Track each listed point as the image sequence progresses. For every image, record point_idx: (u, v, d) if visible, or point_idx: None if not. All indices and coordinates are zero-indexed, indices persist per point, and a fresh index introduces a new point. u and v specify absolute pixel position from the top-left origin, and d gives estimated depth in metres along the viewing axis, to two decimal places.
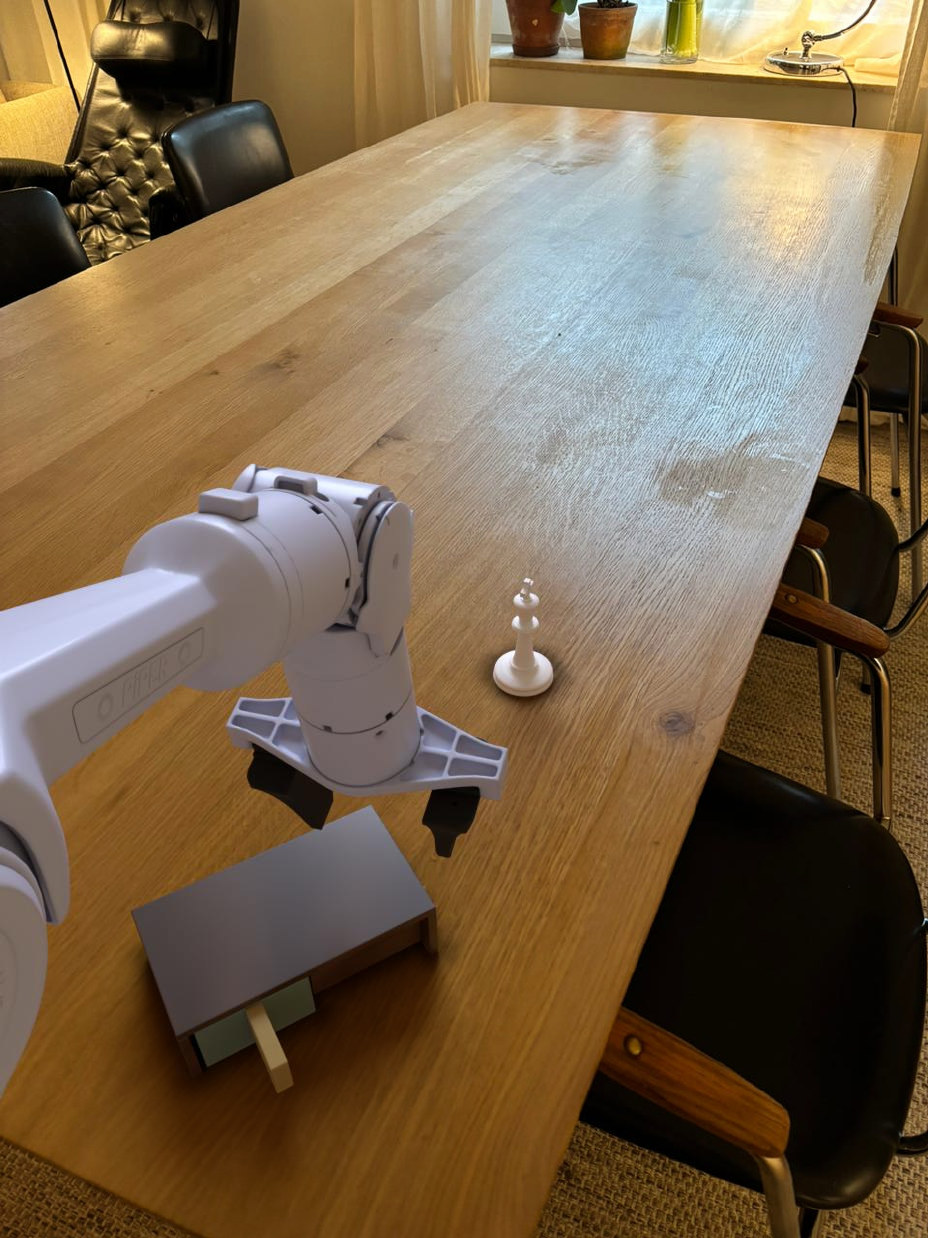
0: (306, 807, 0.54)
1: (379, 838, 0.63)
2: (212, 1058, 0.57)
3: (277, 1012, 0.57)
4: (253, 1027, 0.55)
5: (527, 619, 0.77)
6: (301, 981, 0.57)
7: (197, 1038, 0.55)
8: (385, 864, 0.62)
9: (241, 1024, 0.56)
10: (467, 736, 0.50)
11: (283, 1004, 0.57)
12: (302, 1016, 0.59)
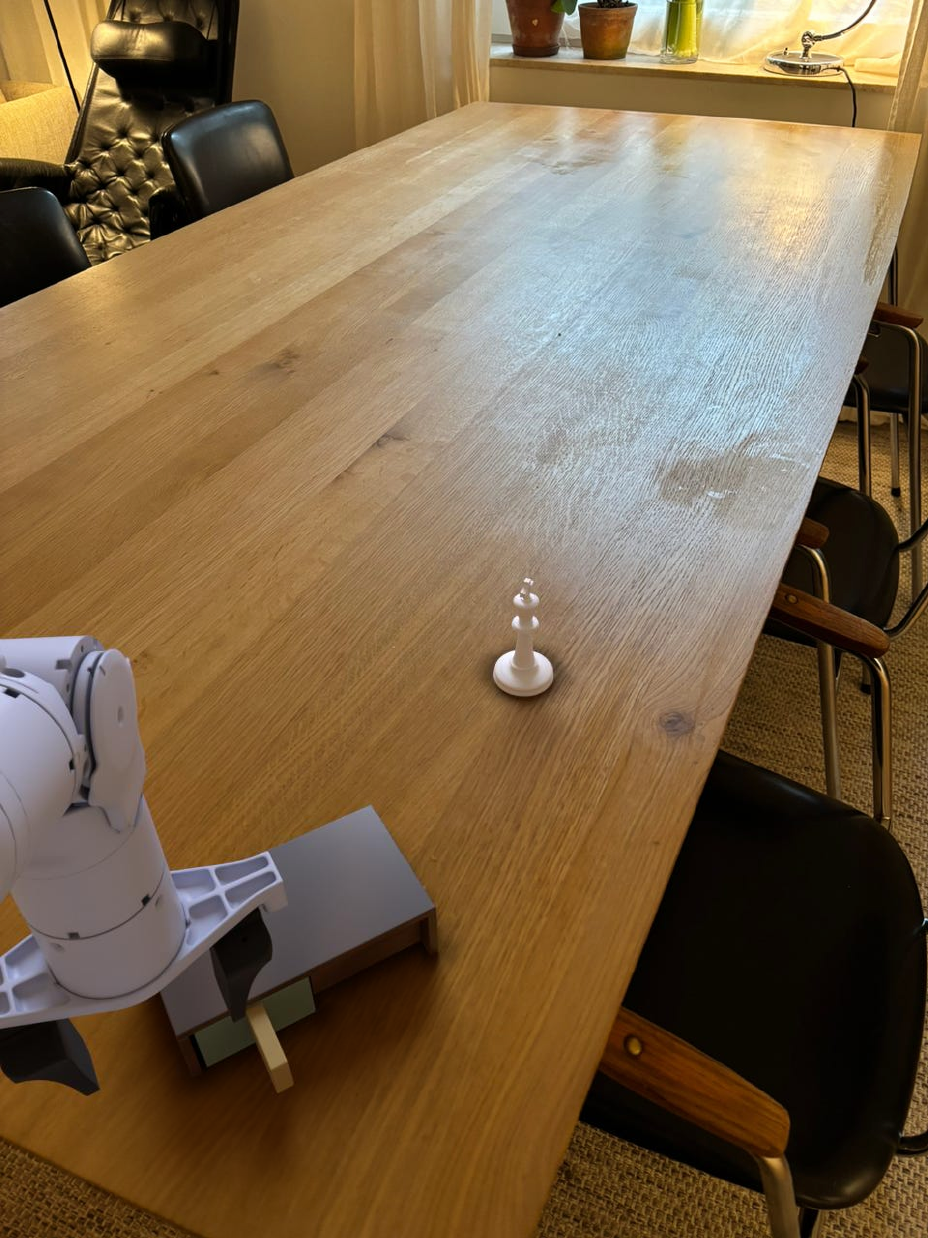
0: (80, 1068, 0.45)
1: (379, 838, 0.63)
2: (212, 1058, 0.57)
3: (277, 1012, 0.57)
4: (253, 1027, 0.55)
5: (527, 619, 0.77)
6: (301, 981, 0.57)
7: (197, 1038, 0.55)
8: (385, 864, 0.62)
9: (241, 1024, 0.56)
10: (221, 866, 0.46)
11: (283, 1004, 0.57)
12: (302, 1016, 0.59)
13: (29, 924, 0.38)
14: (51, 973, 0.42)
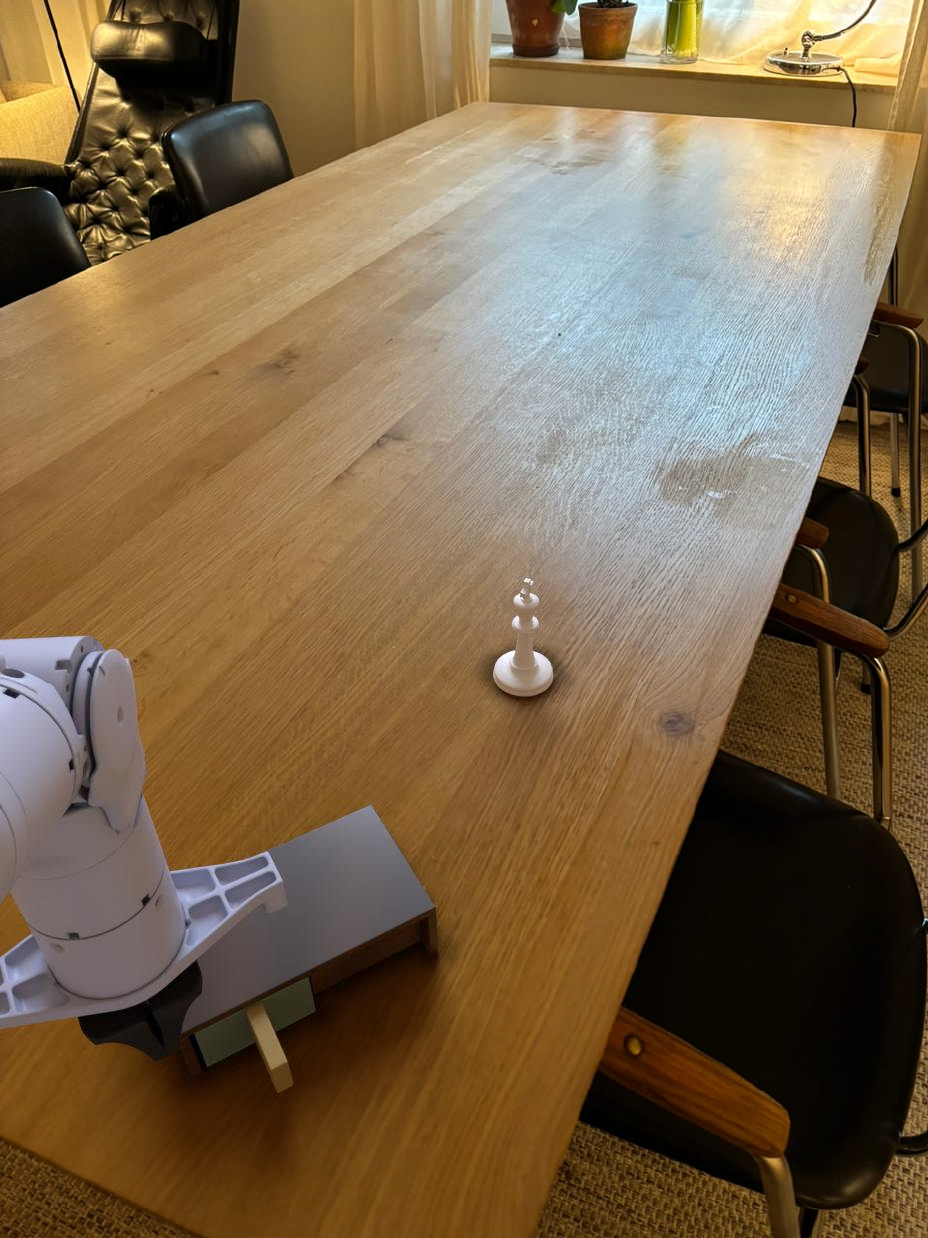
0: (152, 1033, 0.46)
1: (379, 838, 0.63)
2: (212, 1058, 0.57)
3: (277, 1012, 0.57)
4: (253, 1027, 0.55)
5: (527, 619, 0.77)
6: (301, 981, 0.57)
7: (197, 1038, 0.55)
8: (385, 864, 0.62)
9: (241, 1024, 0.56)
10: (221, 866, 0.46)
11: (283, 1004, 0.57)
12: (302, 1016, 0.59)
13: (29, 924, 0.38)
14: (51, 973, 0.42)
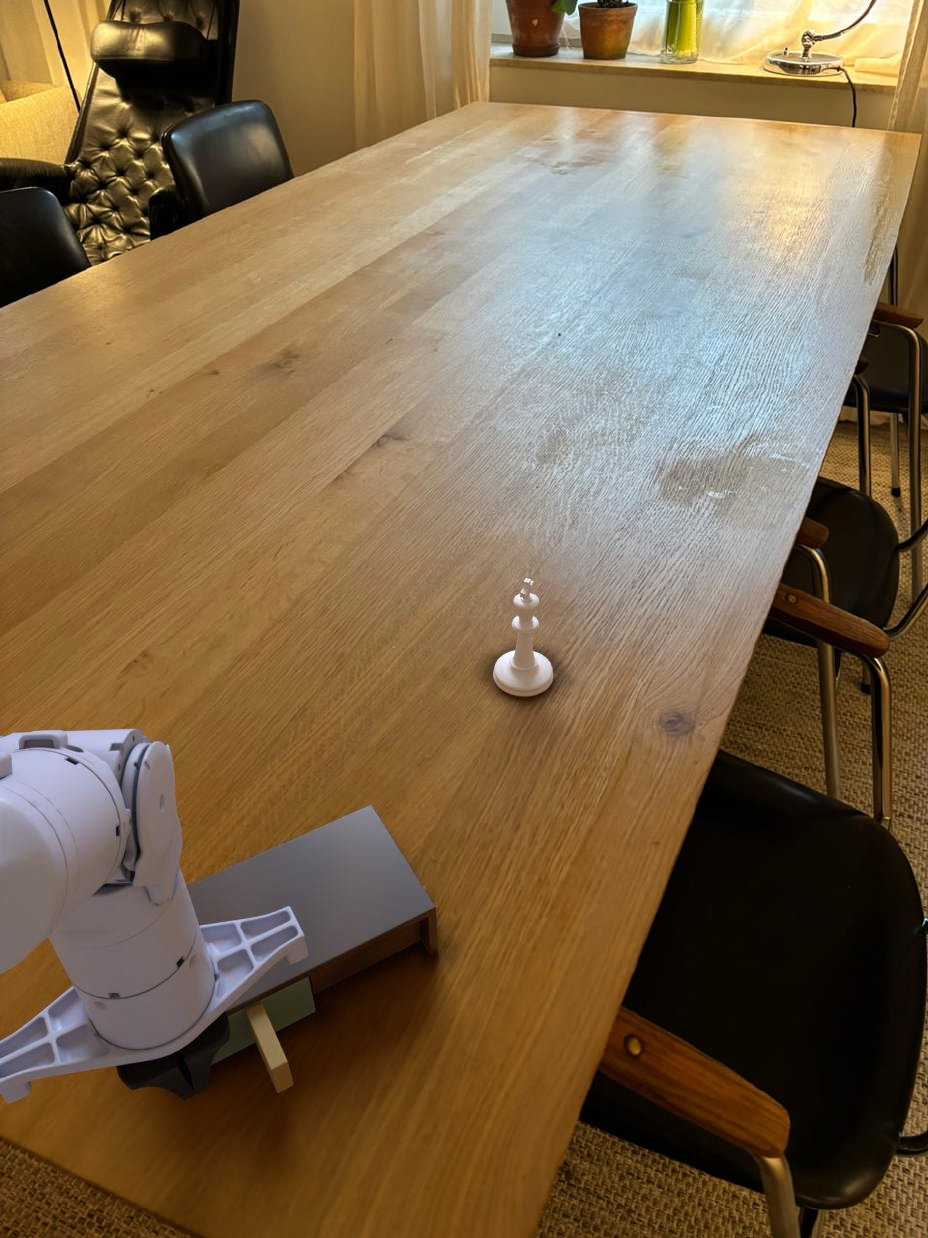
0: (182, 1075, 0.49)
1: (379, 838, 0.63)
2: None
3: (277, 1012, 0.57)
4: (253, 1027, 0.55)
5: (527, 619, 0.77)
6: (301, 981, 0.57)
7: None
8: (385, 864, 0.62)
9: (241, 1024, 0.56)
10: (246, 921, 0.49)
11: (283, 1004, 0.57)
12: (302, 1016, 0.59)
13: (74, 984, 0.42)
14: (91, 1025, 0.45)
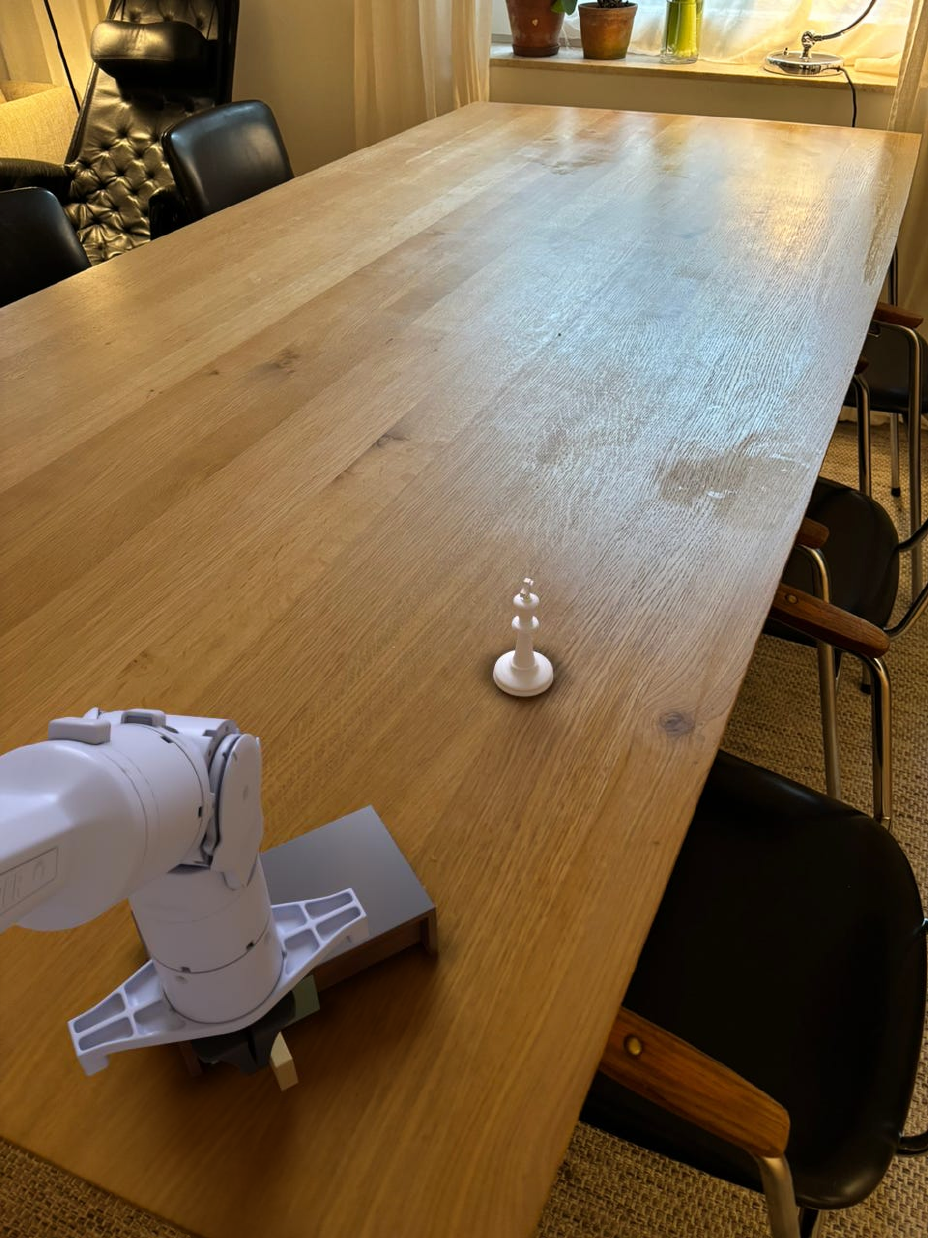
0: None
1: (379, 838, 0.63)
2: None
3: None
4: None
5: (527, 619, 0.77)
6: (305, 979, 0.57)
7: None
8: (385, 864, 0.62)
9: None
10: (310, 902, 0.51)
11: None
12: (306, 1014, 0.59)
13: (156, 959, 0.44)
14: (167, 1000, 0.47)
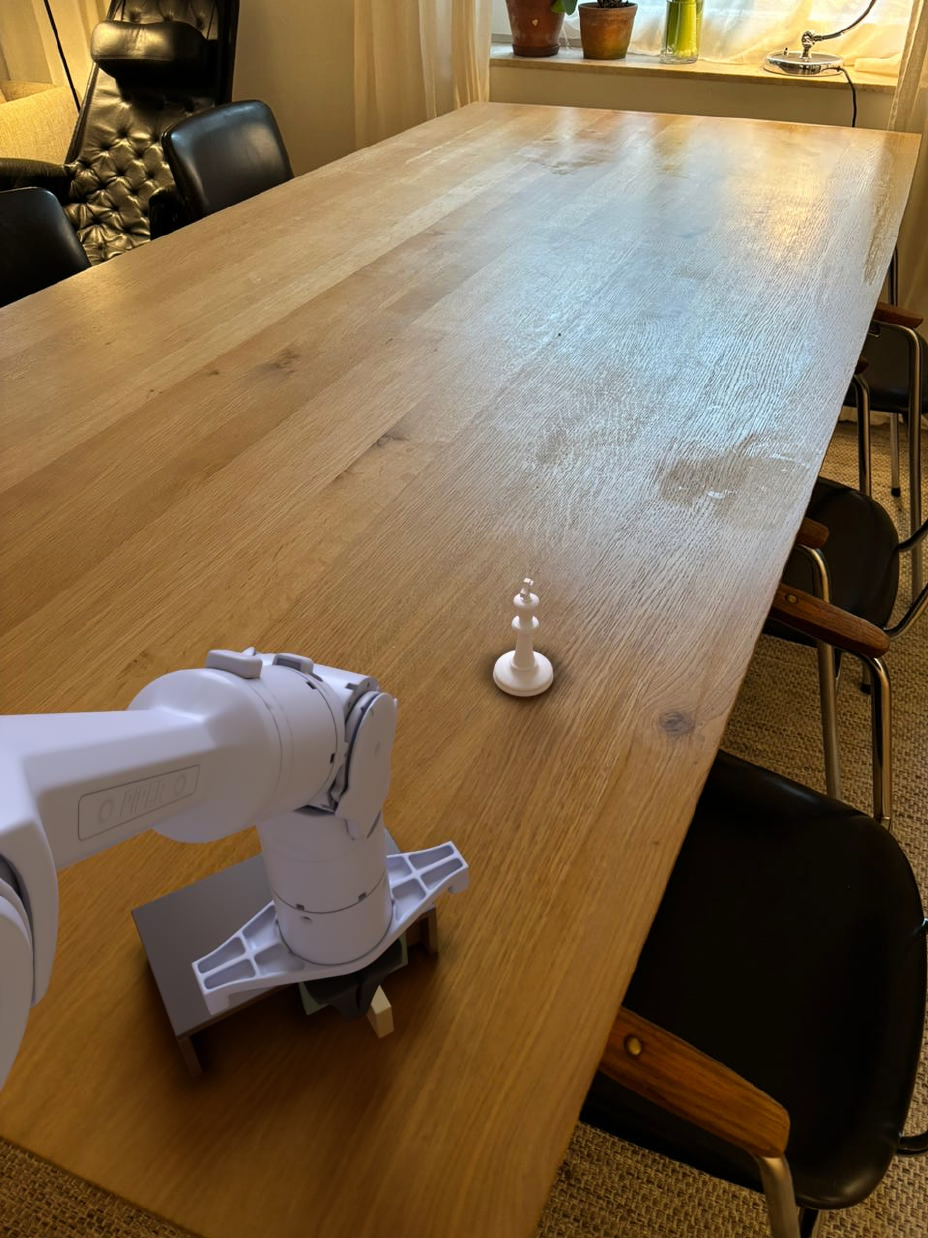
0: None
1: None
2: (313, 1007, 0.59)
3: None
4: None
5: (527, 619, 0.77)
6: None
7: (302, 985, 0.57)
8: None
9: None
10: (413, 854, 0.53)
11: None
12: (395, 968, 0.61)
13: (282, 900, 0.46)
14: (284, 944, 0.49)
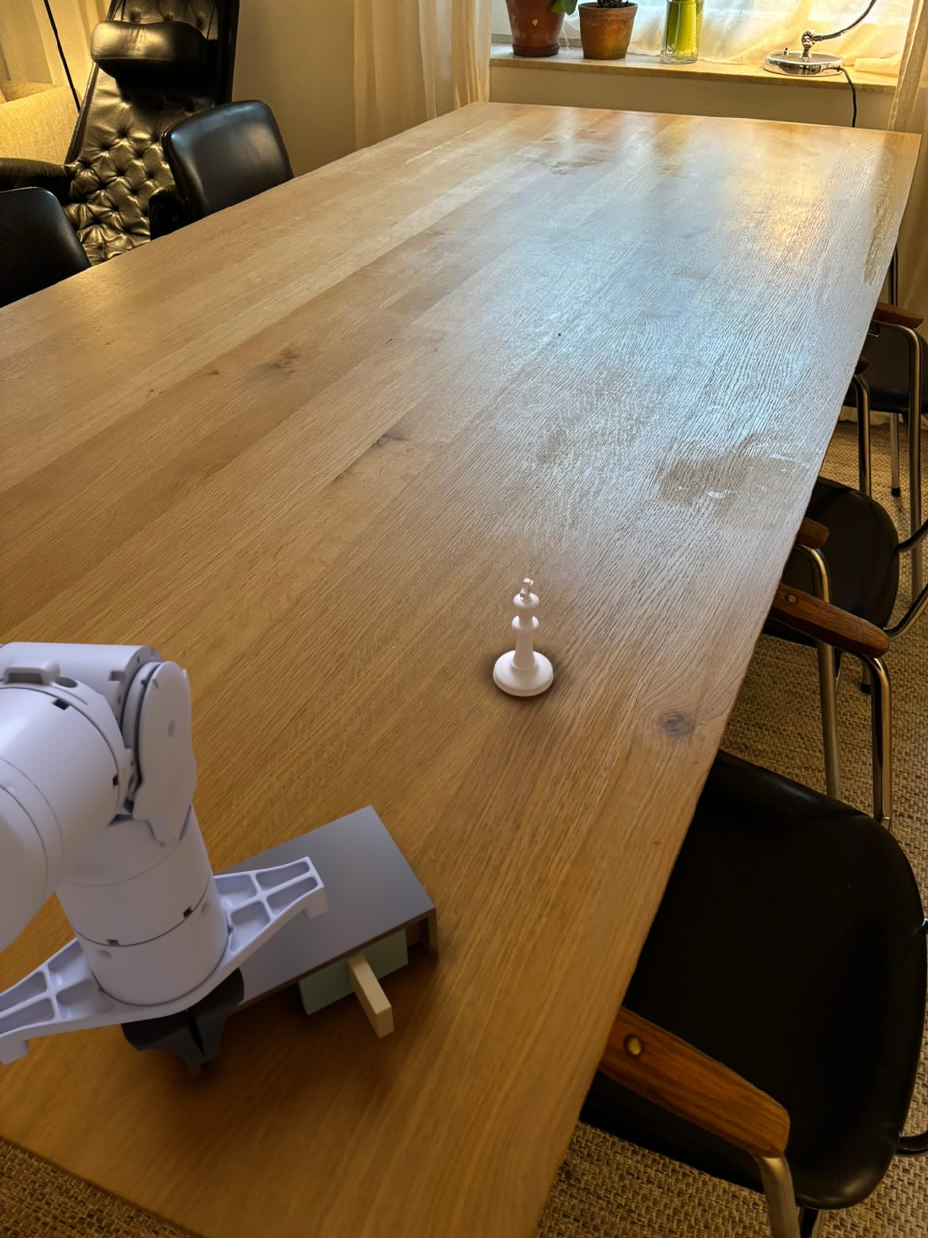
0: (193, 1039, 0.46)
1: (379, 838, 0.63)
2: (313, 1007, 0.59)
3: (374, 963, 0.60)
4: (356, 975, 0.57)
5: (527, 619, 0.77)
6: (398, 932, 0.59)
7: (302, 985, 0.57)
8: (385, 864, 0.62)
9: (341, 973, 0.58)
10: (262, 871, 0.45)
11: (380, 954, 0.59)
12: (395, 968, 0.61)
13: (76, 931, 0.38)
14: (95, 979, 0.41)
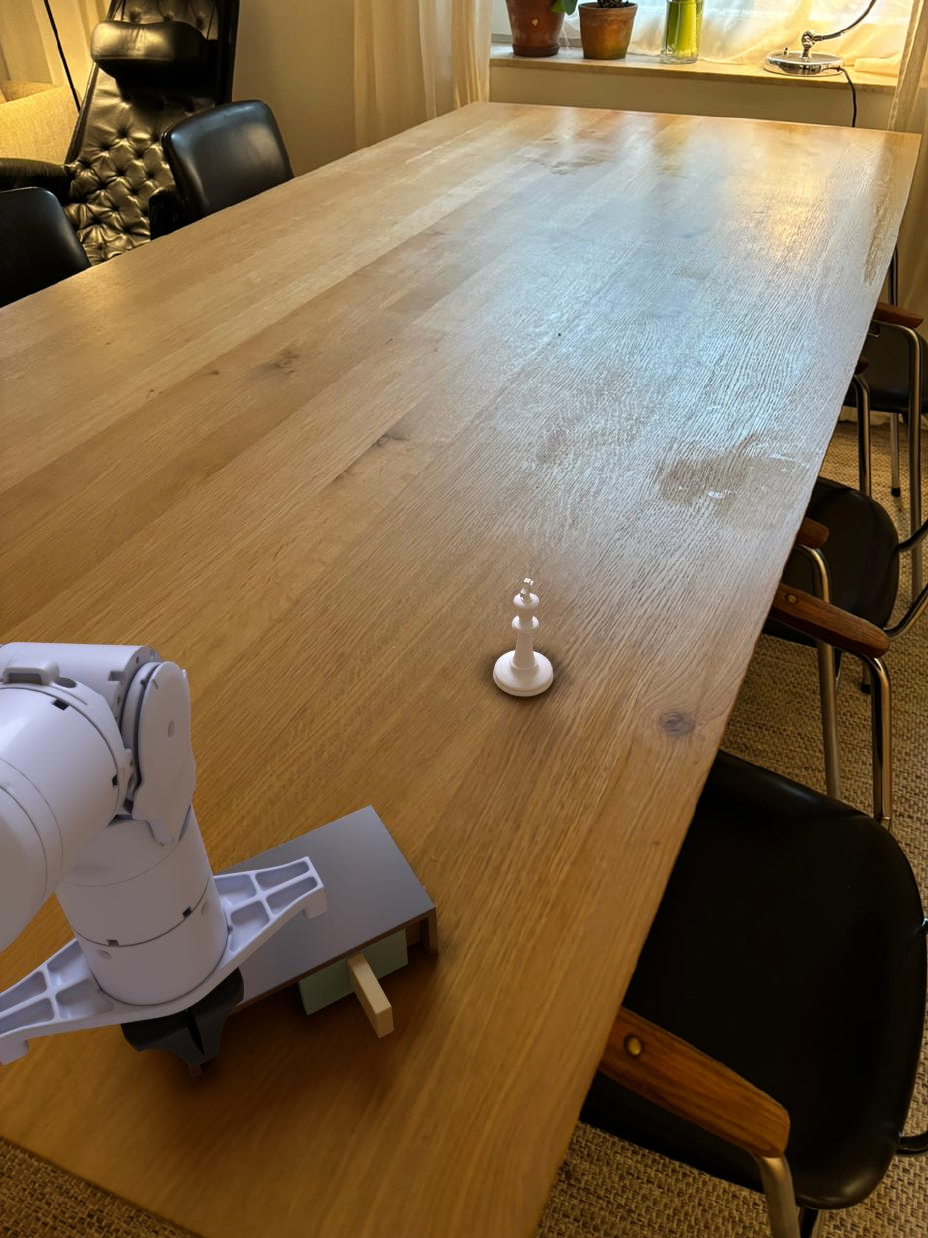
0: (192, 1039, 0.46)
1: (379, 838, 0.63)
2: (313, 1007, 0.59)
3: (374, 963, 0.60)
4: (356, 975, 0.57)
5: (527, 619, 0.77)
6: (398, 932, 0.59)
7: (302, 985, 0.57)
8: (385, 864, 0.62)
9: (341, 973, 0.58)
10: (261, 871, 0.45)
11: (380, 954, 0.59)
12: (395, 968, 0.61)
13: (76, 931, 0.38)
14: (94, 979, 0.41)
